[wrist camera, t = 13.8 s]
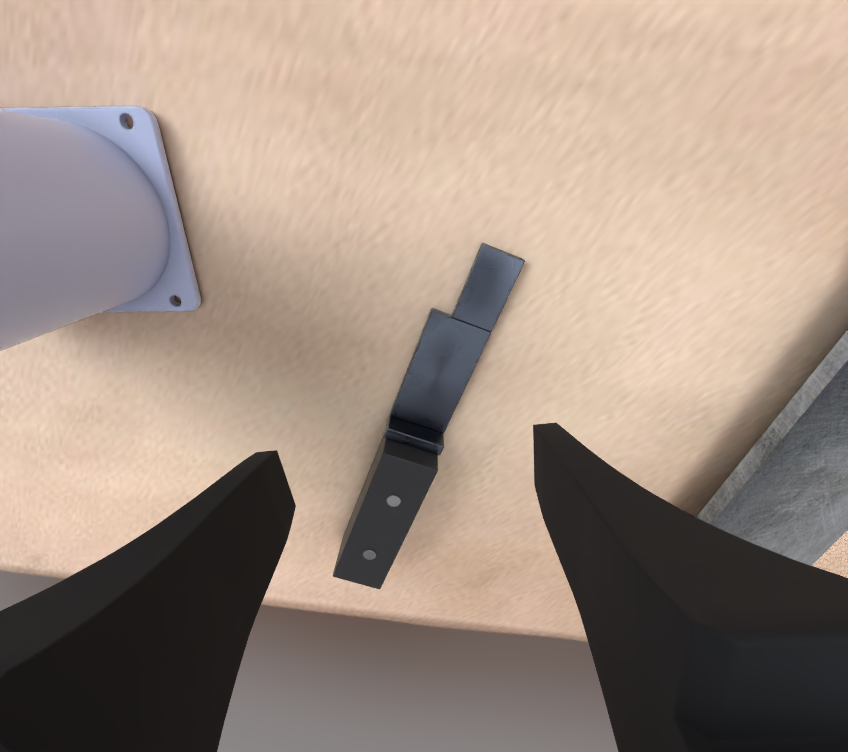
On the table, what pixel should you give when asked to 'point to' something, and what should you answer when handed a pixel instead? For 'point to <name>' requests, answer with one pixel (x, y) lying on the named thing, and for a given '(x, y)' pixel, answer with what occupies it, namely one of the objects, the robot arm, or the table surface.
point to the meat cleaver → (794, 472)
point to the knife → (423, 419)
